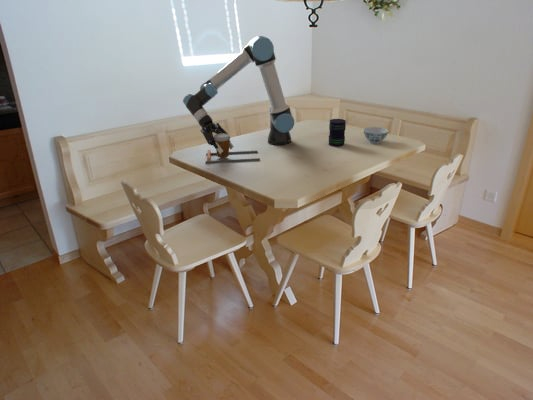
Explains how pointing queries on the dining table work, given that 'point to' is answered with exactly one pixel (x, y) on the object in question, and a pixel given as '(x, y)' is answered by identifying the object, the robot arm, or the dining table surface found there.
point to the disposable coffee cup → (223, 144)
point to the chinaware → (375, 134)
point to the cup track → (231, 160)
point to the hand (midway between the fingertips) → (227, 150)
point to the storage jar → (337, 132)
